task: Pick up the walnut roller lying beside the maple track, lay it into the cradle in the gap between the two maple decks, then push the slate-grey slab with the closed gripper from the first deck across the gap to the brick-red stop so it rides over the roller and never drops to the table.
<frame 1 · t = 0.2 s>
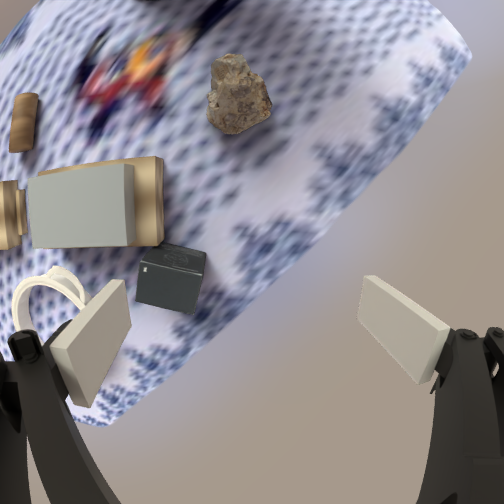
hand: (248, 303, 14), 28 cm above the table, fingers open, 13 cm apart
box: (179, 263, 41), on the table
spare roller: (30, 124, 32), on the table
track: (35, 209, 36), on the table
slab: (84, 206, 32), point 5 cm above the table, touching track
cream oval ring: (64, 322, 42), on the table
rock: (231, 106, 36), on the table
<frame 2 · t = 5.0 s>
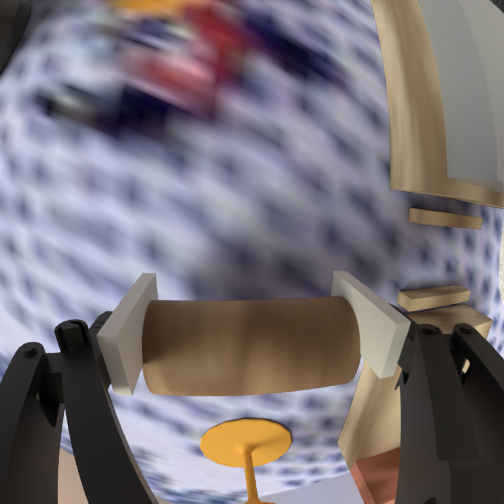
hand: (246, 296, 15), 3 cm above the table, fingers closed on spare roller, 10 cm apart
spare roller: (247, 301, 14), point 3 cm above the table, tilted 52°, touching gripper
track: (437, 256, 19), on the table
slab: (478, 85, 11), point 5 cm above the table, touching track
cup: (245, 443, 22), on the table
when the fingers open (1 cm above the table, at t = 9.5 s): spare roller drops 2 cm, on the table.
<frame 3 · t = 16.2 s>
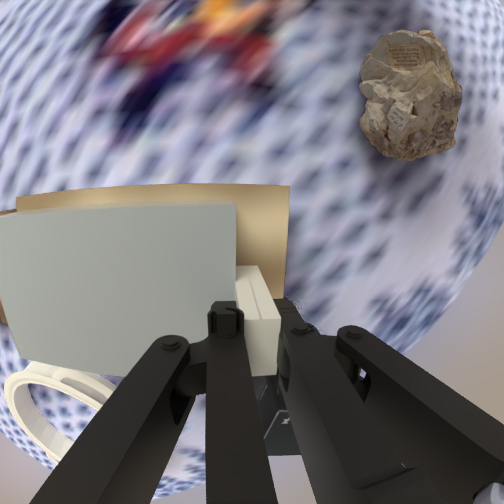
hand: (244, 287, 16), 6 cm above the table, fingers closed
box: (284, 354, 26), on the table
track: (20, 257, 20), on the table
slab: (113, 278, 16), point 5 cm above the table, touching gripper
cream oval ring: (85, 415, 26), on the table
rock: (379, 111, 21), on the table
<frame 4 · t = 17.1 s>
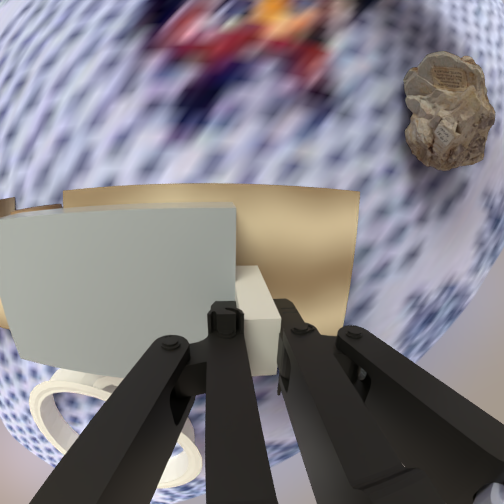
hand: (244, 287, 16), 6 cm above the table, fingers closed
track: (53, 257, 20), on the table
slab: (113, 280, 16), point 5 cm above the table, touching gripper
cream oval ring: (117, 421, 26), on the table
rock: (417, 122, 21), on the table
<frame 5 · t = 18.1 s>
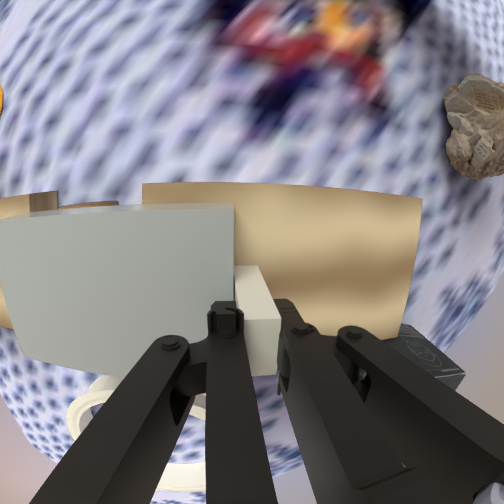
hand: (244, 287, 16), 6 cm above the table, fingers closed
box: (377, 341, 27), on the table
track: (107, 256, 21), on the table
slab: (115, 280, 17), point 5 cm above the table, touching gripper, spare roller, track
cream oval ring: (161, 426, 27), on the table
rock: (452, 135, 22), on the table
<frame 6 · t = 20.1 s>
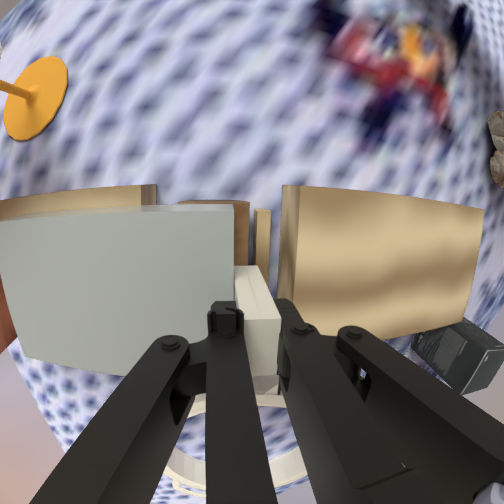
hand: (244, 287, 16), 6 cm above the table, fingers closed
box: (435, 329, 28), on the table
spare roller: (238, 264, 22), point 1 cm above the table, tilted 50°, touching slab
track: (218, 257, 22), on the table
slab: (116, 280, 17), point 5 cm above the table, touching gripper, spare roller, track
cream oval ring: (239, 428, 28), on the table
cup: (34, 97, 16), on the table
rock: (492, 153, 23), on the table
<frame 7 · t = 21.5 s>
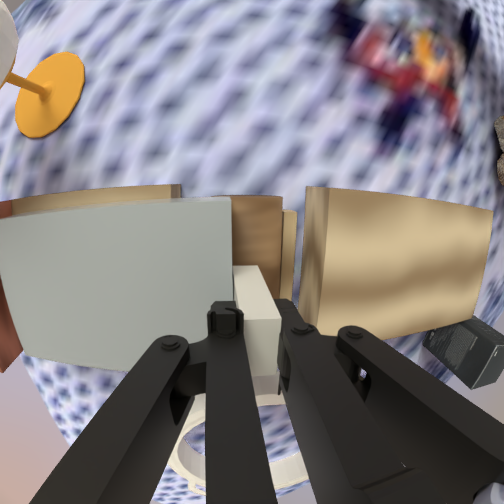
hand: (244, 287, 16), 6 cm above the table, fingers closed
box: (445, 326, 28), on the table
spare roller: (277, 262, 21), point 2 cm above the table, tilted 76°, touching slab
track: (243, 258, 22), on the table
slab: (115, 276, 17), point 4 cm above the table, touching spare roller, track
cream oval ring: (256, 428, 29), on the table
cup: (48, 93, 16), on the table
rock: (498, 156, 23), on the table
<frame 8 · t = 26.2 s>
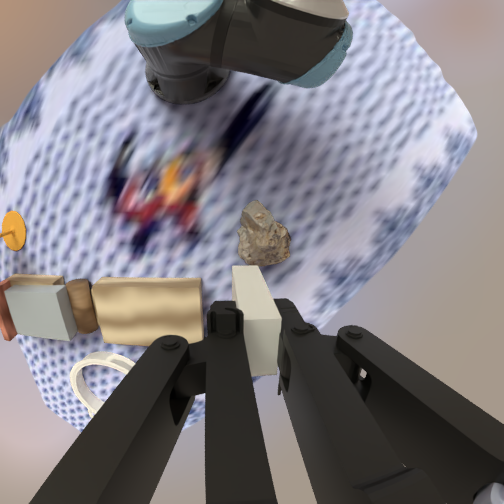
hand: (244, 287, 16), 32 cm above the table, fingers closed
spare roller: (92, 305, 46), point 2 cm above the table, tilted 83°
track: (86, 303, 48), on the table
slab: (43, 307, 43), point 4 cm above the table, touching track
cream oval ring: (116, 383, 54), on the table
cup: (14, 230, 42), on the table
rock: (256, 234, 49), on the table
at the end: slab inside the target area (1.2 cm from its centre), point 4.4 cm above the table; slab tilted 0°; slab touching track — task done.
